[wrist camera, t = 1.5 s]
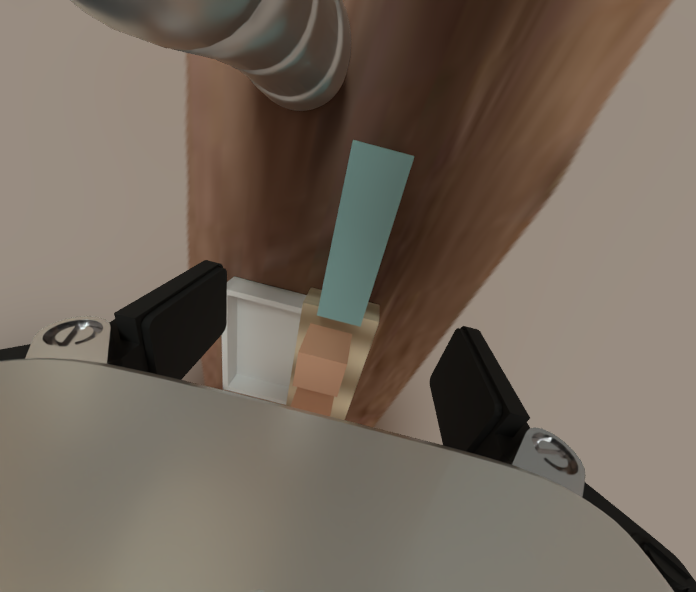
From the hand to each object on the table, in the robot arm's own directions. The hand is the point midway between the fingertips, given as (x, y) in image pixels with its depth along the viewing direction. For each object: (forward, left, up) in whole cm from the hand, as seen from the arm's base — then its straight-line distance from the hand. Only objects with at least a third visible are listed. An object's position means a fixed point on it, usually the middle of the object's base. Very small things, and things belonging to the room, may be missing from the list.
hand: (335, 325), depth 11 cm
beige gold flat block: (+14, 0, -14) cm, 20 cm away
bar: (-1, 0, -14) cm, 14 cm away
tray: (+14, -7, -14) cm, 21 cm away
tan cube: (+10, 0, -11) cm, 15 cm away
